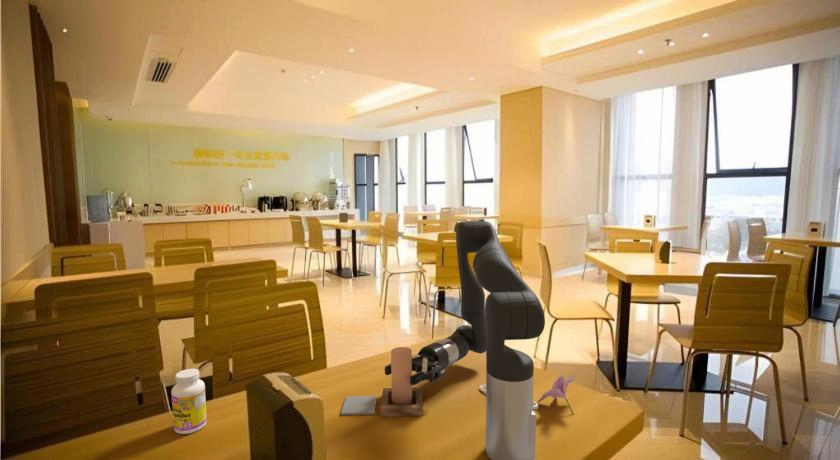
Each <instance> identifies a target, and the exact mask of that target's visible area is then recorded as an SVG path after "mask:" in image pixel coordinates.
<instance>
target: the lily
mask: <svg viewBox="0 0 840 460" xmlns="http://www.w3.org/2000/svg"><path fill="white" fill-rule="evenodd" d="M578 374H579V372H577V373H575V374H572V376H570V377H568V379H566V377H565V376H563V375H559V376H557V378H556V379H555V380H554V382H553V383H552V384H551V385H552V386H551V389H549V390H547V391H546V392H544V393H543V394H542V395H541V397H540V398H539V399H538V400H537V401H536V403H537V404H538V405H539V403H540V402H542V401H543V400H544V399H547V398H548V397H552V398H553V399H557V398H562V399H564V400H565V401H566V403H567V405H568V407H569V409H570V412H571V414H572V415H574V414H575V413H574V411H573V409H572V407H571V405H570V403H569V401H568V399H567V388H568V387H569V384H571V383H572V382H574V381H576V380H575V378H574V377H576V376H577V375H578Z"/></svg>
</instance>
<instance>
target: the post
mask: <svg viewBox="0 0 840 460" xmlns="http://www.w3.org/2000/svg"><path fill="white" fill-rule="evenodd" d="M412 351H413V350H412V348H409V347H406V346H398V347H397V346H396V347H394V348H392V349H391V351H390V364H391V374H390V375H391V388H392V398H391V405H413V398H412V388H413V386H412V385H410V376H412V375H413V371H412V356H413V355H412V354H413V353H412Z"/></svg>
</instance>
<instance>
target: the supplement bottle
mask: <svg viewBox="0 0 840 460" xmlns="http://www.w3.org/2000/svg"><path fill="white" fill-rule="evenodd" d="M174 377H175V382H176V384H174V386H173V387H172V388H171V391H170V392H171V404H172V406H171V407H172V421H173V431H174V432H175V433H177V434H179V435H187V434H194V433H196V432H198V431H199V430H201V429H203V428H204V427H205V426H206V424H207V422H208V421H207V418H208V414H207V403H206V401H207V400H206V398H207V397H206V384H205V382H204V381H203V380H202V379H200V370H199V369H197V368H187V369H183V370H180V371H178V372H177V373H176V374H175V376H174Z"/></svg>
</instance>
